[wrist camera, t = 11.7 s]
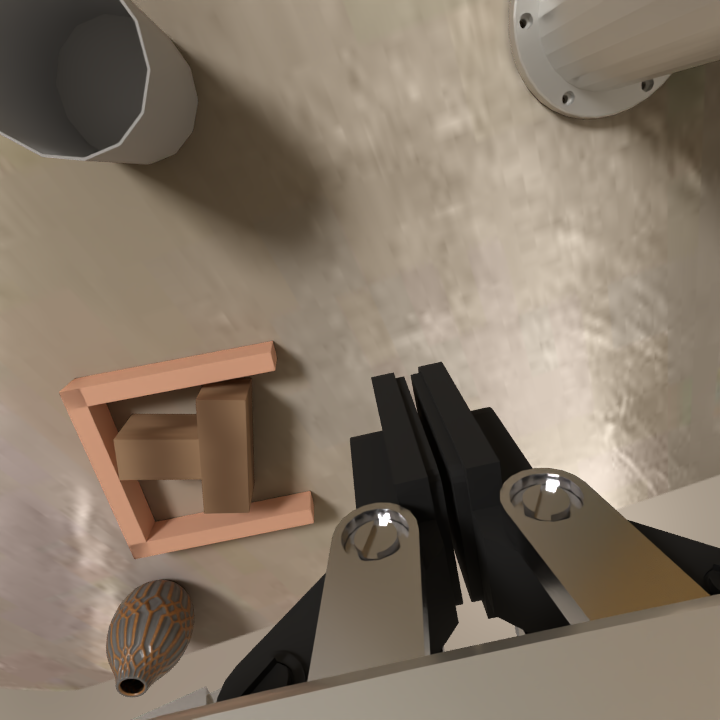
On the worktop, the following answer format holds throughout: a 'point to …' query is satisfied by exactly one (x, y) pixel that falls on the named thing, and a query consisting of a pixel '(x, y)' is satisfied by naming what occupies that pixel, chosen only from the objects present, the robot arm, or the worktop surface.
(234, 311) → the worktop surface
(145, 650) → the vase
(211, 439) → the t block
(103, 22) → the cup
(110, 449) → the frame
